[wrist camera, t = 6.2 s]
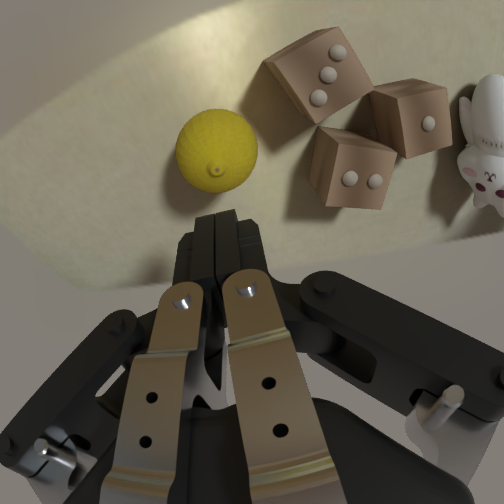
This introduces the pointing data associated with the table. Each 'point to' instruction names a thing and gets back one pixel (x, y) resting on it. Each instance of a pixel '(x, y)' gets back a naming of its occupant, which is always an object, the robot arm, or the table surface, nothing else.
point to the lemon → (216, 150)
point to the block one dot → (412, 116)
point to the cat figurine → (484, 142)
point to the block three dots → (320, 73)
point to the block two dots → (350, 168)
